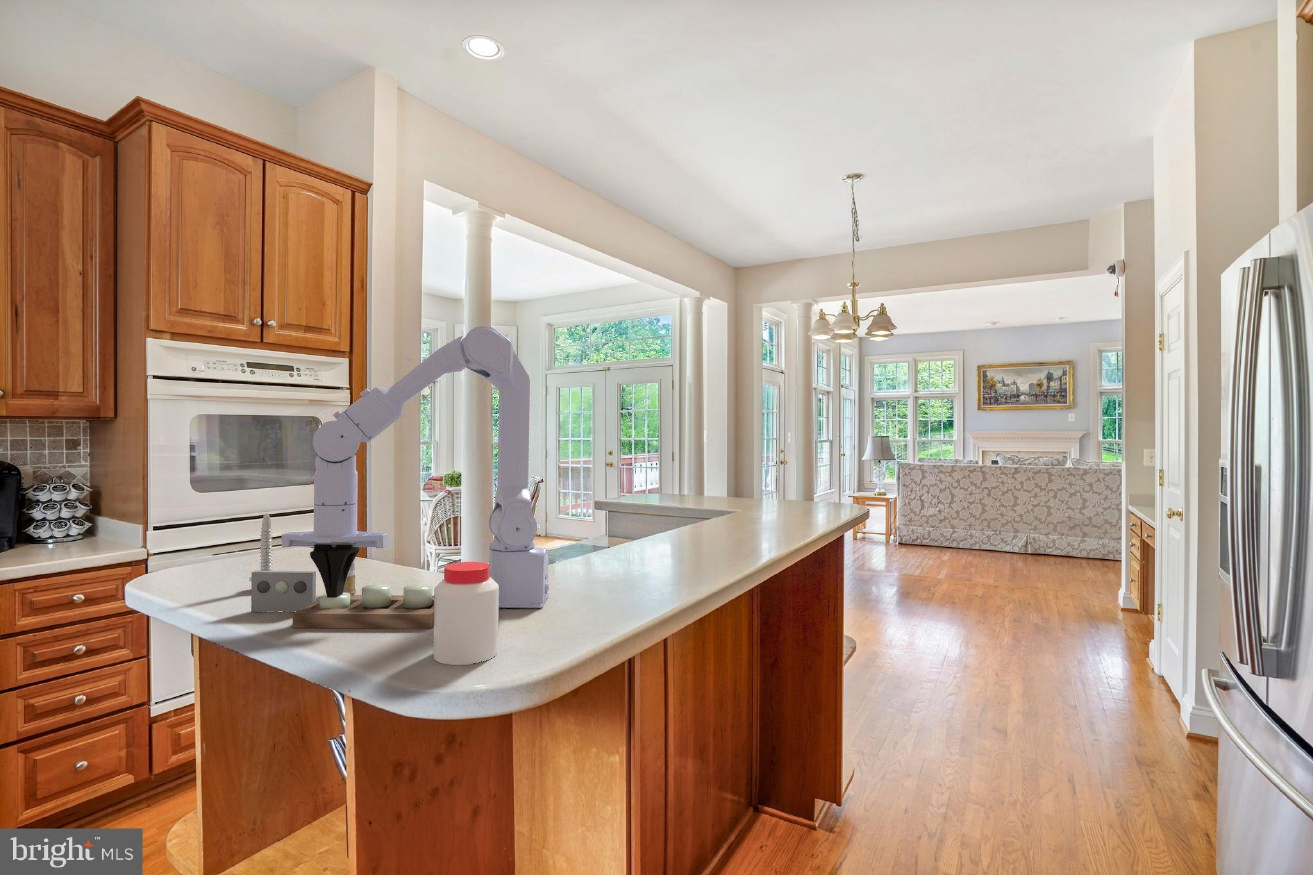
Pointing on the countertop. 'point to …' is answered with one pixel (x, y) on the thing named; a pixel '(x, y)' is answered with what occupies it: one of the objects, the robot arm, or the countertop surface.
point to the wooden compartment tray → (365, 615)
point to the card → (282, 590)
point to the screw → (265, 545)
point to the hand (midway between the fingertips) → (334, 596)
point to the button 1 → (335, 601)
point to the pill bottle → (466, 614)
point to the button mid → (376, 595)
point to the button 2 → (417, 596)
